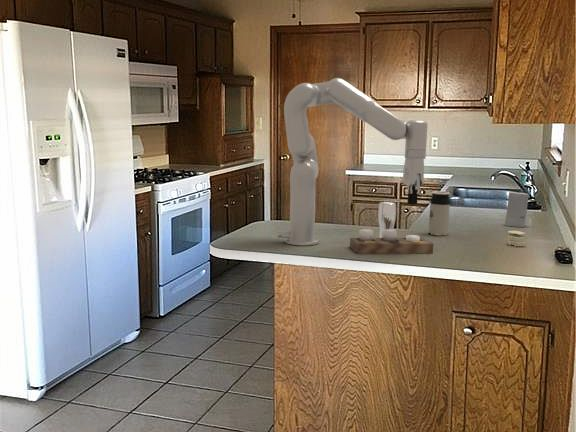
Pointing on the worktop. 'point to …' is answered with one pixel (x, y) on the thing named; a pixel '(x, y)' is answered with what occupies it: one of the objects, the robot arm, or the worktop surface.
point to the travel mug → (439, 213)
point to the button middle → (389, 235)
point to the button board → (391, 246)
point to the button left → (366, 235)
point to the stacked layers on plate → (516, 238)
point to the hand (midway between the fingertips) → (412, 204)
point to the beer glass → (386, 216)
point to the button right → (412, 238)
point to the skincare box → (516, 209)
